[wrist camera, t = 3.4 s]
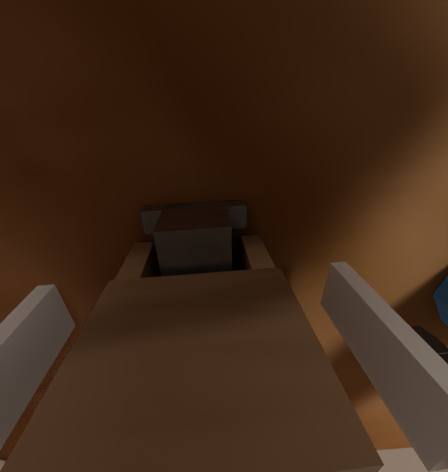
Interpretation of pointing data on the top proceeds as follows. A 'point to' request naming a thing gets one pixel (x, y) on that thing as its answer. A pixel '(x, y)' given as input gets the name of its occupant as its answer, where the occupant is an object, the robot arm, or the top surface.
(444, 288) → the water bottle
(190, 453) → the block
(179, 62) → the top surface
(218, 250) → the rail
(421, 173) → the top surface
